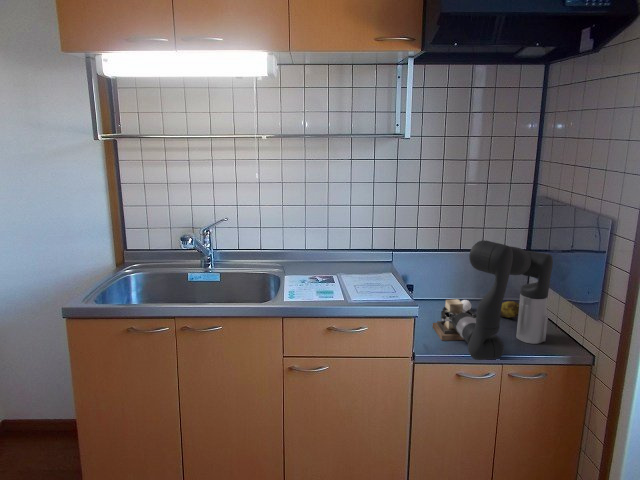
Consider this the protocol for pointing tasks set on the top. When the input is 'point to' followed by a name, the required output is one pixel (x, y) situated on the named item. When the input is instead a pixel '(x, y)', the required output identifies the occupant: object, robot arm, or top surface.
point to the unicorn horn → (466, 305)
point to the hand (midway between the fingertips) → (451, 309)
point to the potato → (510, 309)
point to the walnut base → (446, 332)
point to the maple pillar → (453, 309)
